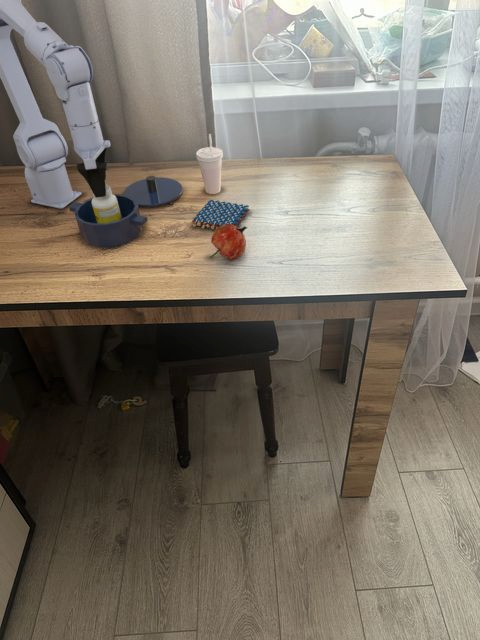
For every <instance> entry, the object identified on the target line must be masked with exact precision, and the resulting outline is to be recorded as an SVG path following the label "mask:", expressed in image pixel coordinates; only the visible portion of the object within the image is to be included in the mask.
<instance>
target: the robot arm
mask: <svg viewBox="0 0 480 640" xmlns="http://www.w3.org/2000/svg"><path fill="white" fill-rule="evenodd" d="M12 30H14V31H15V32H16V33H18V34H20V36H21V37H23V43H24V45H25V48H26V50H27V51H29V53H30V54H31V55H32V56H34V58H35V59H37V61H38V62H39V63H40V64H41V65H42V66H43V67H44V68H45V70H46V71H45V72H46V74H47V76H48V78H49V81H50V83H51V84H52V85H53V89H54V91H55V94H56V96H57V98H58V99H60V101H61V104H62V108H63V111H64V115H65V118H66V122H67V125H68V129H69V132H70V135H71V139H72V142H73V150H74V152H75V153H76V154H77V155H78V156H79V157H80V158H81V159H82V161H83V162H80V163H76V170H77V172H78V174H80V175H81V176H82V177H83V178H84V180H85V181H86V182H87V184H88V186H89V188H90V191H91V190H92V191H91V193H92V192H93V194H94V196H95V197H96V198H97V197H105V196H106V186H105V184H106V177H107V174H106V173H107V172H106V171H107V169H108V163H107V161H106V160H105V159H106V152H107V149H108V148H110V147H111V140H109V139H106V140H105V139H104V137H103V134H102V132H103V131H102V129H101V128H102V127H101V125H100V120H99V116H98V112H97V108H96V104H95V100H94V96H93V92H92V91H93V90H92V86H91V84H90V82H93V80H94V69H93V64H92V62H91V59H90V57H89V56H88V54H87V52H86V51H85V50H84V49H83V48H82V47H81V46H79V45H75V46H74V45H73V44H71V45H69V44H68V43H66V41H64V39H62V38H61V37H60V35H59V34H57V33H56V31H55V30H54V29H52V28H51V27H50V25H48V24H47V23H46V22H41V21H37V20H36V19H35V18H34V17H33V16H32V15H31V13H30V12H29V11H28V10H27V9H26V7H25V6H24V5H23V3H22V0H0V80H1V82H2V85H3V86H4V89H5V91H6V93H7V96H8V98H9V100H10V102H11V105H12V107H13V109H14V112H15V114H16V116H17V118H18V121H19V124H18V126H17V128H16V130H15V131H14V133H13V135H12V138H13V141H14V143H15V147H16V151H17V155H18V157H19V159H20V160H21V162H22V164H23V165H24V166H25V168H24V178H25V181H26V183H27V186H28V189H29V192H30V195H31V197H32V199H31V200H30V202H31V203H32V204H37V205H41V206H46V207H51V208H56V209H61V210H62V209H64V208H65V207H67V206H68V205H69V204H71V203H72V202H73V201H74V200H76V199H78V198H79V197H80V196H82V192H81V191H77V190H73V188H72V184H71V180H70V178H69V174H68V172H67V168H66V165H65V163H66V162H67V157H68V156H69V146H68V143H67V141H66V139H65V137H64V136H63V134H62V133H61V131H60V129H59V126H57V123H55V122H53V121H51V120H48V119H46V118H44V117H43V115H42V113H41V111H40V107H39V106H38V103H37V100H36V98H35V96H34V93H33V91H32V89H31V86H30V84H29V82H28V79H27V77H26V74H25V71H24V69H23V67H22V64H21V62H20V59H19V57H18V55H17V52H16V50H15V48H14V45H13V43H12V40H11V31H12Z"/></svg>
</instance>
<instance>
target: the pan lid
mask: <svg viewBox="0 0 480 640" xmlns="http://www.w3.org/2000/svg"><path fill="white" fill-rule="evenodd" d="M183 190H184V189H183V185H182V184H181V183H180V182H179V181H177V180H175V179H174V178H169V177H161V176H159V177H156V176H155V175H148V176H146V177H145V178H143V179H140V180H139V179H138V180H137V181H135V182H133V183H131V184H129V185H128V186H127V187H126V188H125V189H124V191H123V195H126V196H129V197H131V198H133V199H135V200H136V202H137V204H138V207H141V208H152V207H153V208H154V207H160V206H164V205H167V204H170V203H172V202H174V201H176V200H178V199H179V198H180V197H181V196H182V194H183Z"/></svg>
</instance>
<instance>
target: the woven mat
mask: <svg viewBox="0 0 480 640" xmlns="http://www.w3.org/2000/svg"><path fill="white" fill-rule="evenodd" d="M249 207H250V205H248V204H246V205H245V204H243V203H241V204H238V203H237V202H234V203H233V202H232V201H231V202H230V201H229V202H228V201H225V200H223V201H220V200H215V199H210V200H208V201H207V203H206V204H204V206H203V207H202V208H201V209H200V210H199V211H198V213H197V214H196V215H195V216H194V217H193V220H191V222H192V223H193V225H192V227H193V228H196V227H200V226H201V229H202V230H205V228H207V229H209V228H210V229H211V230H214V229H215V230H216V229H217V228H218V227H220V226H221V225H224V224H231V225H234V226H236V227H237V228H238V226H239V224H240V223H241V222H242V221H243V219H244V218H245V216H246V214H247V213H248V212H250V209H249Z"/></svg>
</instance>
